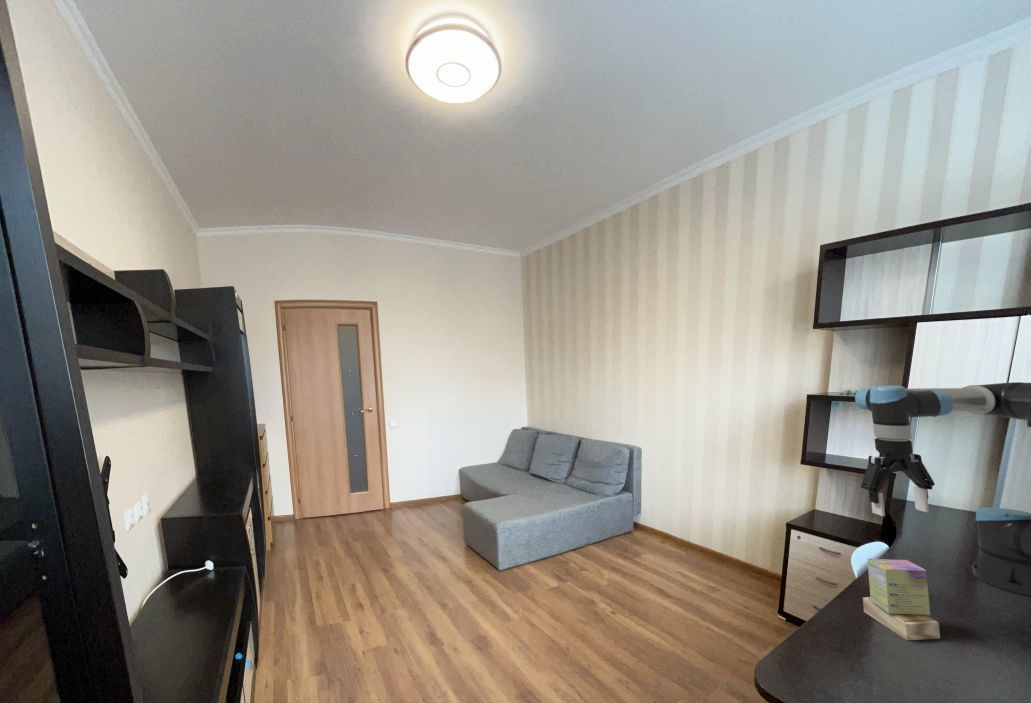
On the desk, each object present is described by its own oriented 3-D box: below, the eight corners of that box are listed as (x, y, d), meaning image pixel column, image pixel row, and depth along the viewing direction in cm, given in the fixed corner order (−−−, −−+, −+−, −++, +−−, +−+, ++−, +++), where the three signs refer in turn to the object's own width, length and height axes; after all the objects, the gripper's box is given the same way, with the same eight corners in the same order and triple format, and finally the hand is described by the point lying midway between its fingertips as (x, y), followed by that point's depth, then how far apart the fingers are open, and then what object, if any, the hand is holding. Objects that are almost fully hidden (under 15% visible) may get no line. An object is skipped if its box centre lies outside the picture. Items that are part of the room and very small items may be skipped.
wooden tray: (893, 610, 103) (892, 594, 104) (940, 638, 92) (938, 621, 93) (863, 611, 103) (862, 596, 103) (907, 640, 92) (905, 623, 92)
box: (909, 602, 100) (905, 558, 101) (931, 615, 95) (927, 570, 95) (869, 600, 101) (866, 558, 102) (888, 614, 96) (885, 569, 96)
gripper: (916, 433, 109) (924, 504, 108) (840, 438, 107) (847, 510, 106) (947, 438, 101) (956, 514, 100) (866, 443, 100) (874, 521, 99)
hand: (900, 512), depth 103 cm, fingers open, 13 cm apart
